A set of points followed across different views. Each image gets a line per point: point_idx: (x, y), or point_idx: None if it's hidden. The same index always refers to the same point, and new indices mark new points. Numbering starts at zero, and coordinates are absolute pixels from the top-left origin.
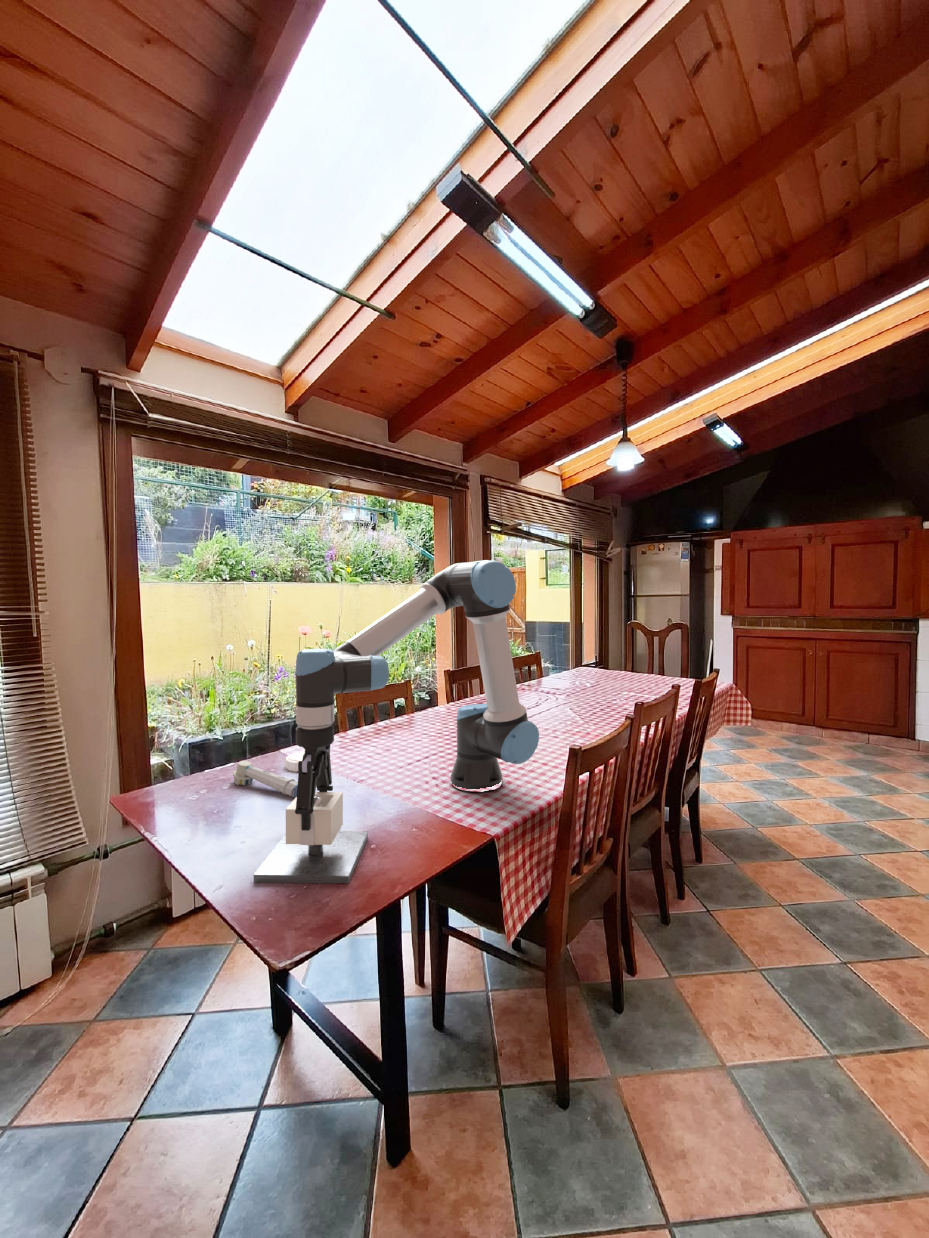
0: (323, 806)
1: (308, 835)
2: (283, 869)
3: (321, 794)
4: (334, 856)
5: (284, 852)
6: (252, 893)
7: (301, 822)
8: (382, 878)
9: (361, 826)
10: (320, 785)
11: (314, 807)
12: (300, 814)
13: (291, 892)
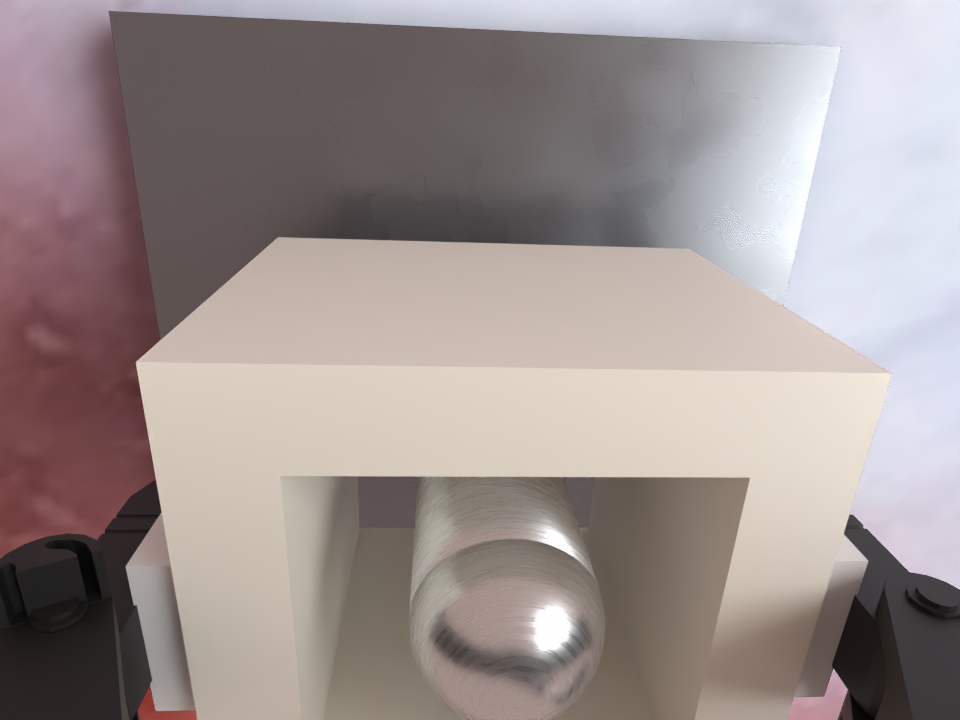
0: (651, 575)
1: None
2: (214, 224)
3: (713, 667)
4: (407, 494)
5: (456, 147)
6: (8, 66)
7: (100, 537)
8: None
9: (860, 515)
10: (881, 711)
11: (267, 704)
12: (139, 551)
13: (78, 319)
